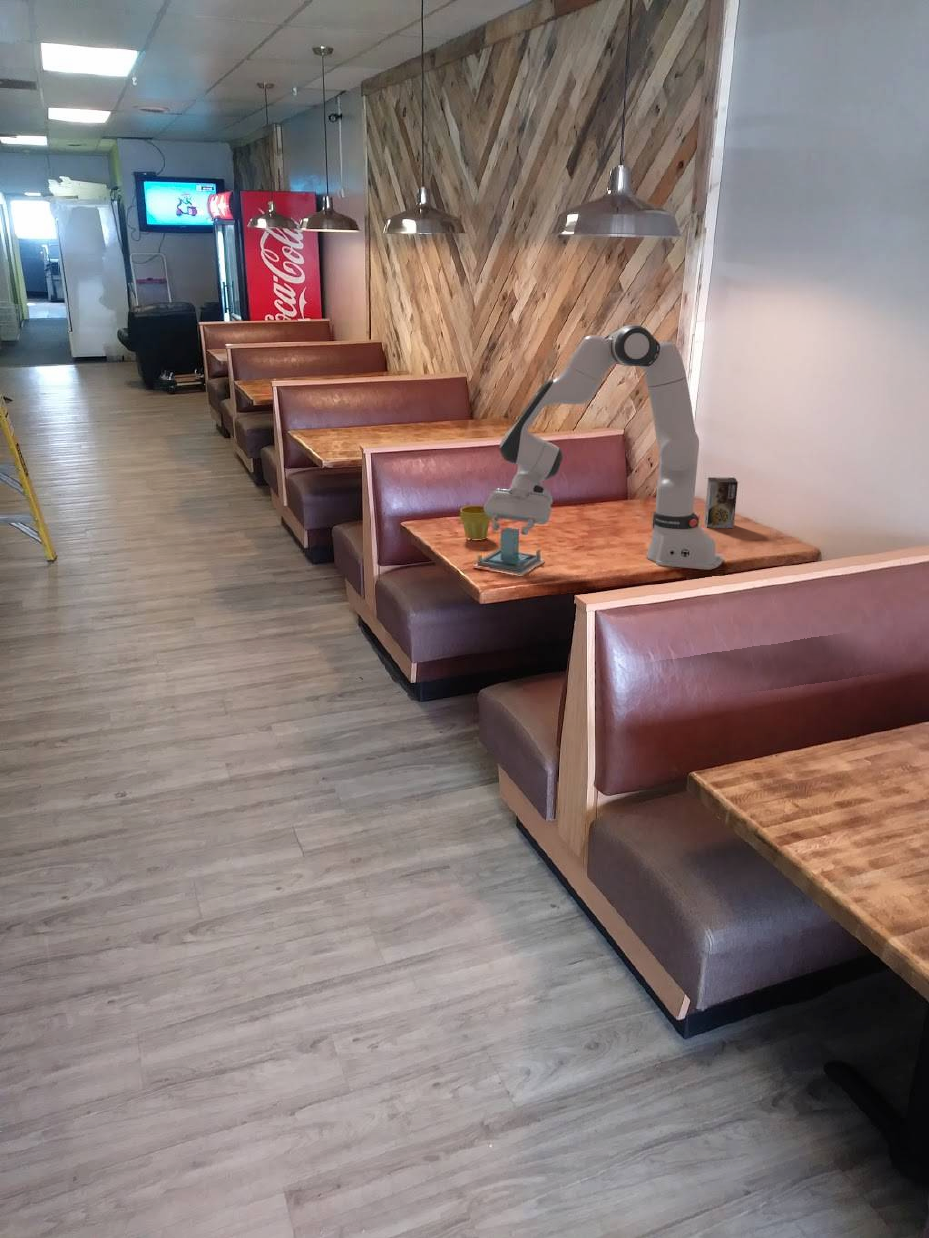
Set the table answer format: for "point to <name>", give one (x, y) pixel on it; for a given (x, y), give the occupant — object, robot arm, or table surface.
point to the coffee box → (721, 502)
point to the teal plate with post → (510, 550)
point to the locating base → (510, 569)
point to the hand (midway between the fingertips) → (509, 531)
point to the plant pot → (475, 521)
